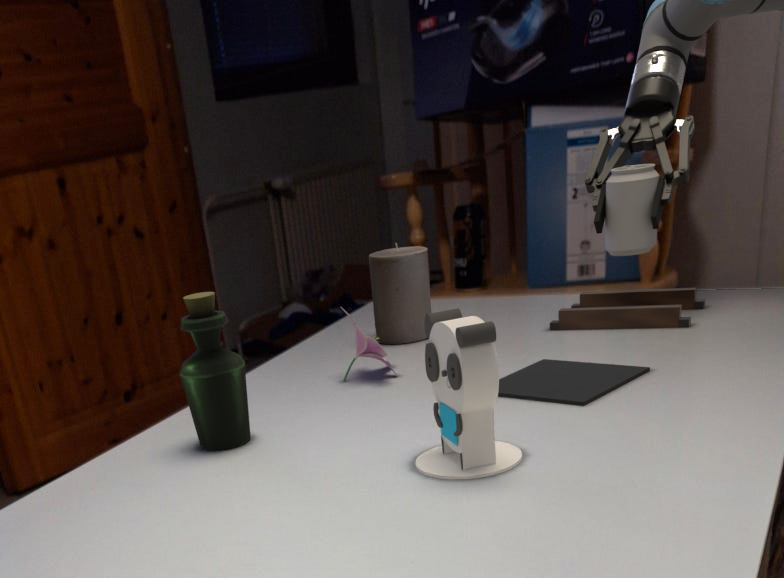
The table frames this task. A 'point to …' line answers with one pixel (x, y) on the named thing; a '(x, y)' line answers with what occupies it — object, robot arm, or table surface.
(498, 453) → the panda figurine
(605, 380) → the mat
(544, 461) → the table surface
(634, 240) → the can
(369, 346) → the lily
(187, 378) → the potion bottle
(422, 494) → the table surface
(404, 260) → the pillar candle
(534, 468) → the table surface
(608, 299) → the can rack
